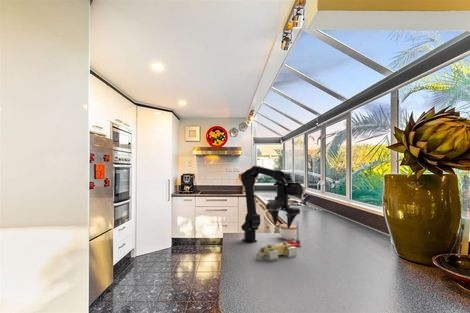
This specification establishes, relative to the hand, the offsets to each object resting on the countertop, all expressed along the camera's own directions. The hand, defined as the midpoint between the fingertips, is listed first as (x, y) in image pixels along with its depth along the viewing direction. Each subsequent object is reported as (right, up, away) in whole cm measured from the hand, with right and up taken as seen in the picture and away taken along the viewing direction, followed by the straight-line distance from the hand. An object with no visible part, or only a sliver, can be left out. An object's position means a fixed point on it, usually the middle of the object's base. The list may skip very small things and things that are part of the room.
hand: (281, 225), depth 119 cm
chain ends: (-4, -12, -9) cm, 15 cm away
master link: (-4, -11, -9) cm, 14 cm away
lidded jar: (+9, -15, +24) cm, 30 cm away
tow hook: (+8, -14, +12) cm, 20 cm away
